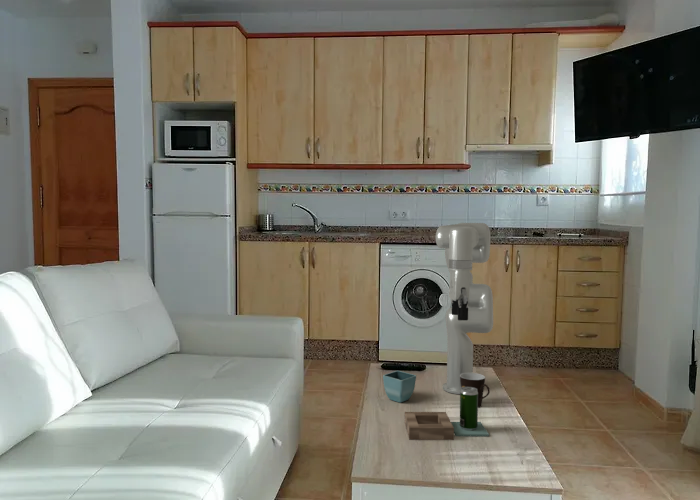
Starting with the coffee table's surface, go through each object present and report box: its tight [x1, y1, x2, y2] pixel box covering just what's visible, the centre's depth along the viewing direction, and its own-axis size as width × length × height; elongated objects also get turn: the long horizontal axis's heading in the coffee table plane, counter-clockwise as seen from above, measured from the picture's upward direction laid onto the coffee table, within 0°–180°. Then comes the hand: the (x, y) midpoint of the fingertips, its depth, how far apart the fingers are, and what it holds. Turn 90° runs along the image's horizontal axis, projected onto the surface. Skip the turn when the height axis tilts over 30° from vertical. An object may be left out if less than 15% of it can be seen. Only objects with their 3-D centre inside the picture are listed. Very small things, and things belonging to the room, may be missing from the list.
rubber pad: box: [451, 421, 490, 437], centre depth 162 cm, size 10×10×1 cm
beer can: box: [459, 387, 479, 431], centre depth 162 cm, size 5×5×12 cm
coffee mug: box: [460, 372, 490, 408], centre depth 183 cm, size 12×9×10 cm
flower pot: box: [382, 370, 417, 403], centre depth 189 cm, size 9×9×9 cm
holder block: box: [403, 411, 455, 441], centre depth 161 cm, size 13×13×4 cm
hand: (459, 317), depth 174 cm, fingers open, 9 cm apart
